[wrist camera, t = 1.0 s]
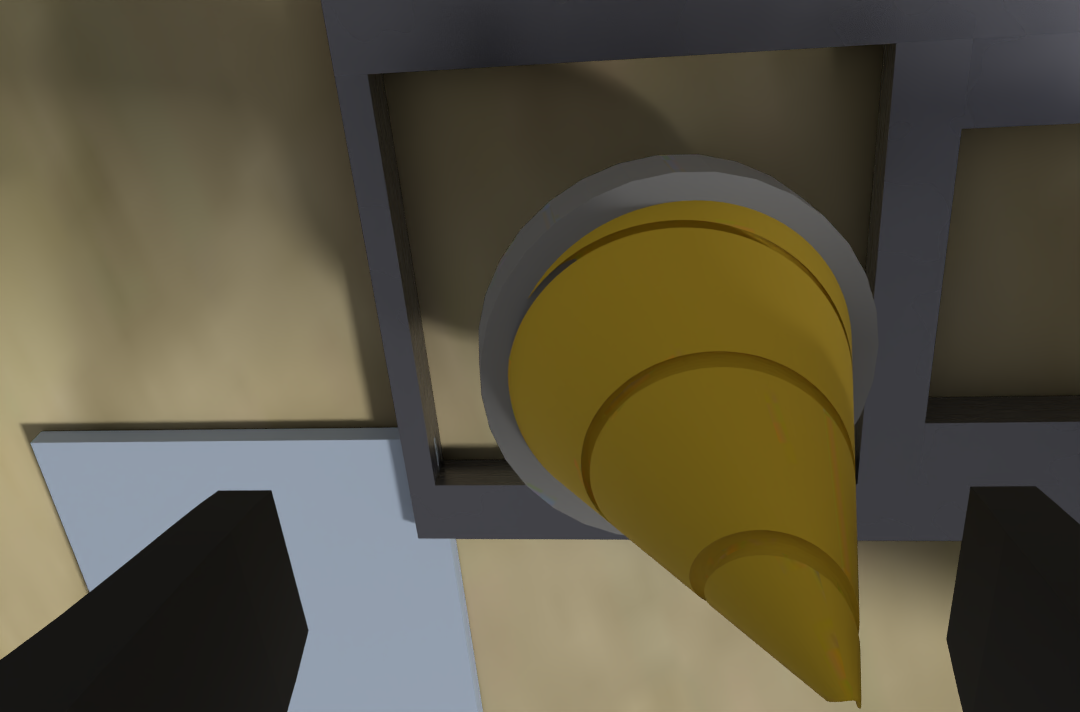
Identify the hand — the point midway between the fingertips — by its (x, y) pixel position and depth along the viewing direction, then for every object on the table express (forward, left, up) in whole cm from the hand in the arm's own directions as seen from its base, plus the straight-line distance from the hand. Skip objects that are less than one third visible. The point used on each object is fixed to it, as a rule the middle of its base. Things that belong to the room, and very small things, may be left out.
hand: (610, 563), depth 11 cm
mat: (+8, +7, -7) cm, 13 cm away
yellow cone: (0, 0, -7) cm, 7 cm away
